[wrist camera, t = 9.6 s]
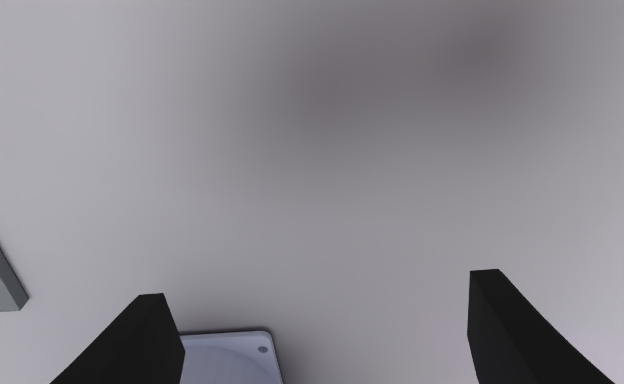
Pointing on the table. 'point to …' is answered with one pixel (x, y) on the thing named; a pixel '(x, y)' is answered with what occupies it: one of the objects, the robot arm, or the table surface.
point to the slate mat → (10, 289)
